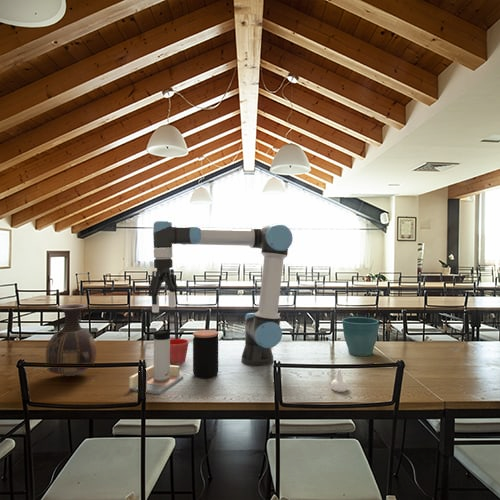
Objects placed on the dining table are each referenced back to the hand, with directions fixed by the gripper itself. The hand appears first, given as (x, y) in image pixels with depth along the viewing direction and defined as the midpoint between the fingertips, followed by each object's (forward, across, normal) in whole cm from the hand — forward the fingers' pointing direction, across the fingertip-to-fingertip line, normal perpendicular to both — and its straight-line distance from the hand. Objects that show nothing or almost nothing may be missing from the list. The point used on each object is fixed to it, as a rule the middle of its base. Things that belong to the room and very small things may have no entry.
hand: (164, 309), depth 158 cm
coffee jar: (+29, -8, +15) cm, 33 cm away
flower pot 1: (+29, -22, -6) cm, 36 cm away
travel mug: (+27, +6, +2) cm, 28 cm away
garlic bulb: (+30, -6, +70) cm, 76 cm away
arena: (+28, +8, +1) cm, 29 cm away
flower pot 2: (+30, -61, +78) cm, 103 cm away
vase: (+28, +10, -38) cm, 48 cm away
